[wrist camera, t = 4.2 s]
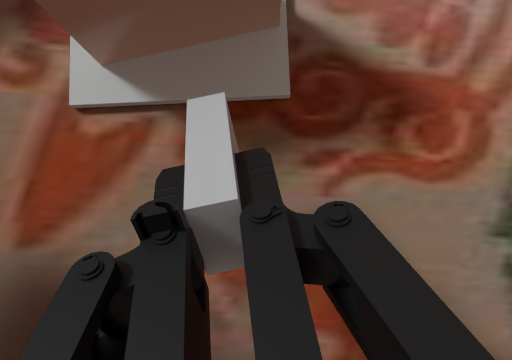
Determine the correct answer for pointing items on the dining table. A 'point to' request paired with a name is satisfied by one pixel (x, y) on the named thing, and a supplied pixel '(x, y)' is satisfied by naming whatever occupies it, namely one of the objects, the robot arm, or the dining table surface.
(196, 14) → the tile
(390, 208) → the dining table surface
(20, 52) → the dining table surface
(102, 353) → the robot arm
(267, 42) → the mat
